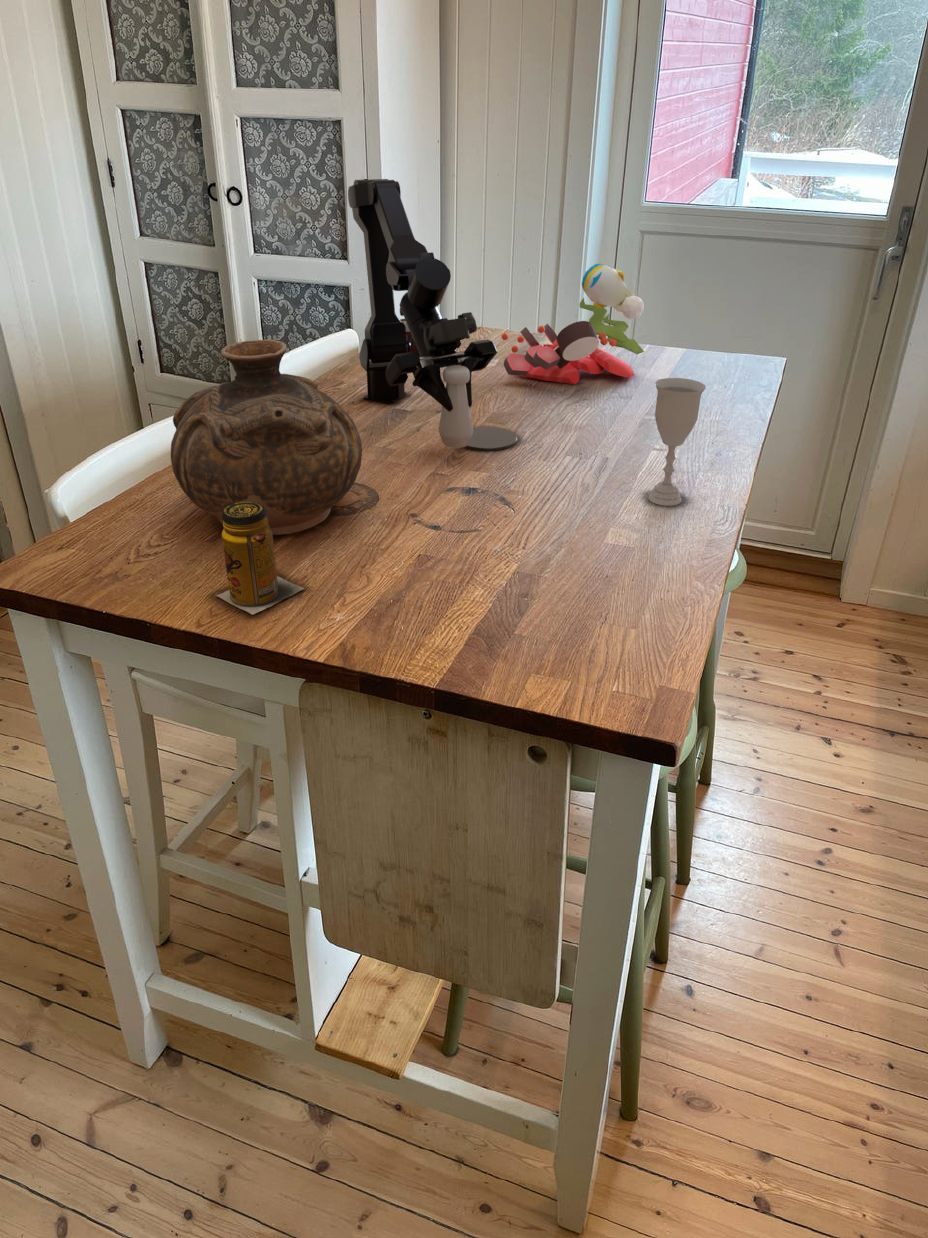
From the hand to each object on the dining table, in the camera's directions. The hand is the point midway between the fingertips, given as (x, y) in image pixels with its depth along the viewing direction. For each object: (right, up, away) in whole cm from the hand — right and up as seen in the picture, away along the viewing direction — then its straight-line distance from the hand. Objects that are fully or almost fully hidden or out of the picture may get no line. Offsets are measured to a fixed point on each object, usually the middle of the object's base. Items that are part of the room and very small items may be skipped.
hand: (460, 408), depth 153 cm
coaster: (+4, -2, +14) cm, 15 cm away
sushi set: (+24, +17, +47) cm, 56 cm away
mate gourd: (-11, +24, +58) cm, 64 cm away
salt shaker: (-1, -5, +5) cm, 7 cm away
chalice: (+32, -16, -7) cm, 36 cm away
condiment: (-25, -31, -34) cm, 52 cm away
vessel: (-28, -19, -13) cm, 36 cm away
